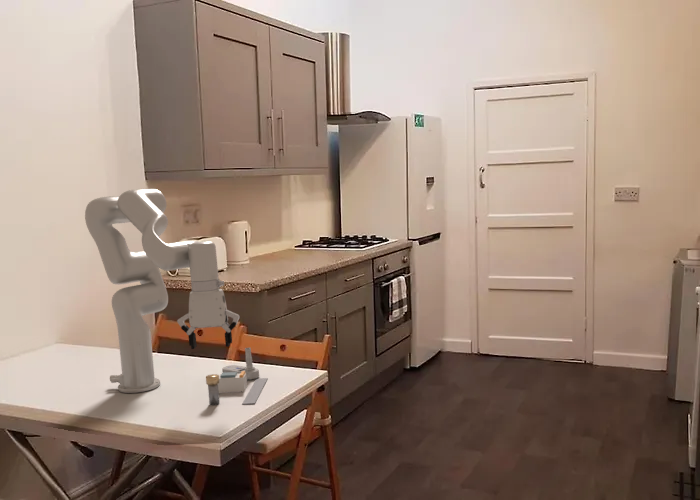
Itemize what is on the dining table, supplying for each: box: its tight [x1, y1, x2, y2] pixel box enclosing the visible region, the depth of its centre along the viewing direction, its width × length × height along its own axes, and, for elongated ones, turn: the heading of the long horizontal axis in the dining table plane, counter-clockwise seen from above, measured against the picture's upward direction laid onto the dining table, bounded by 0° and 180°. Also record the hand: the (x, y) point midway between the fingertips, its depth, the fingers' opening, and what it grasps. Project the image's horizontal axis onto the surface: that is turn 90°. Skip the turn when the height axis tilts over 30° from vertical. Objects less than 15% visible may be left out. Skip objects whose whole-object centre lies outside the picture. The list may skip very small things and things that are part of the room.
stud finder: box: [218, 371, 248, 394], centre depth 208 cm, size 8×4×5 cm, turn 88°
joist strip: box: [241, 377, 268, 406], centre depth 205 cm, size 4×24×1 cm, turn 178°
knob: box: [205, 373, 221, 406], centre depth 195 cm, size 4×4×8 cm
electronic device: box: [221, 347, 260, 381], centre depth 222 cm, size 5×10×15 cm
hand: (211, 346), depth 194 cm, fingers open, 9 cm apart
